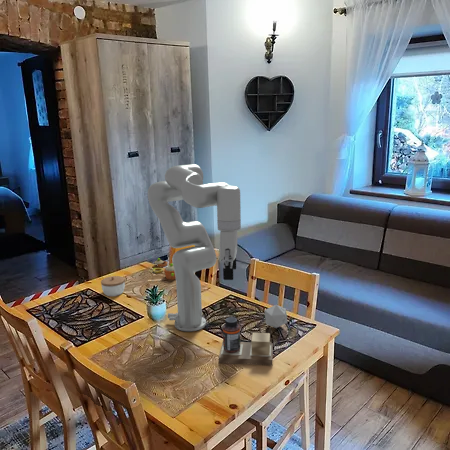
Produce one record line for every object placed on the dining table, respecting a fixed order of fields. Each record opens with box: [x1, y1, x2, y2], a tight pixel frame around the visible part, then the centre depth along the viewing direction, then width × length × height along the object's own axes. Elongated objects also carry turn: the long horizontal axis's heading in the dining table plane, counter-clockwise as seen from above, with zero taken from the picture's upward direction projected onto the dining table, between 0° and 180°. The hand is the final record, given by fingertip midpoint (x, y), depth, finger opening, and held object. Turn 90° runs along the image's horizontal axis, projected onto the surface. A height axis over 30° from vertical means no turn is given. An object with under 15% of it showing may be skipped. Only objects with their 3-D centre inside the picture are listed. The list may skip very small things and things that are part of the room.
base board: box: [218, 341, 274, 366], centre depth 152 cm, size 18×11×2 cm, turn 83°
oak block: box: [250, 332, 271, 355], centre depth 150 cm, size 6×6×5 cm
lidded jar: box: [100, 275, 126, 297], centre depth 205 cm, size 11×11×9 cm
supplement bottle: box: [222, 316, 241, 353], centre depth 151 cm, size 6×6×11 cm
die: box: [264, 304, 288, 329], centre depth 170 cm, size 8×9×10 cm
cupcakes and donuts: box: [152, 257, 176, 281], centre depth 230 cm, size 26×16×10 cm, turn 48°
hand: (230, 274), depth 146 cm, fingers open, 9 cm apart
